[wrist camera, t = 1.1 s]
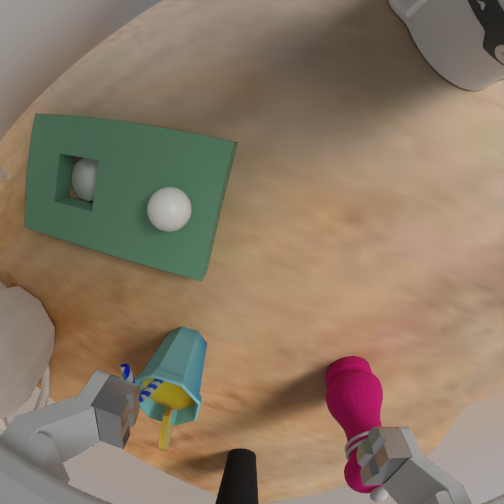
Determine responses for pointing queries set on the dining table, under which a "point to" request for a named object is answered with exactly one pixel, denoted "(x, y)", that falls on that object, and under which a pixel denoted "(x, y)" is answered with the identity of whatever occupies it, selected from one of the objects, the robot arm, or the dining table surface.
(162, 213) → the ball
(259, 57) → the dining table surface
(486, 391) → the dining table surface
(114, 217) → the putting mat
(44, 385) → the watering can
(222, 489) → the drinking cup
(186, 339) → the cup
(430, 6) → the robot arm
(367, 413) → the pepper mill
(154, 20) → the dining table surface
